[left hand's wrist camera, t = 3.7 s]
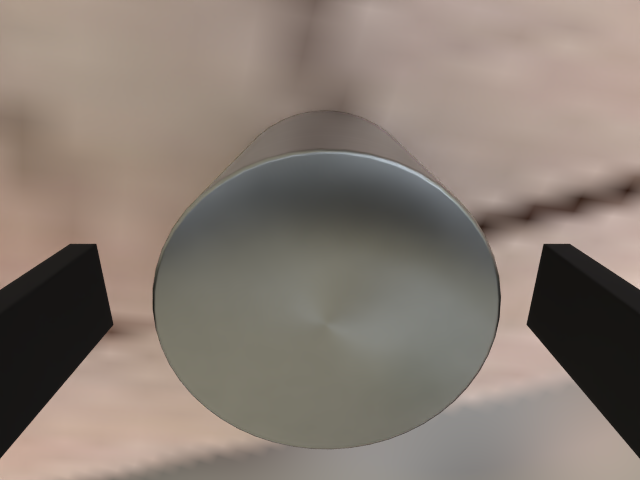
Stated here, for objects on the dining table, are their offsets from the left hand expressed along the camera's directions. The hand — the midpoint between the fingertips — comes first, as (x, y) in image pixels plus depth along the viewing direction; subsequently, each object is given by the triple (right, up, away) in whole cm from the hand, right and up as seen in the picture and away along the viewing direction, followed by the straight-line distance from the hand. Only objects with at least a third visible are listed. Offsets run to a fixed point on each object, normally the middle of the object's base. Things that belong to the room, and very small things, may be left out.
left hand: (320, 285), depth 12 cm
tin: (0, +3, +5) cm, 6 cm away
